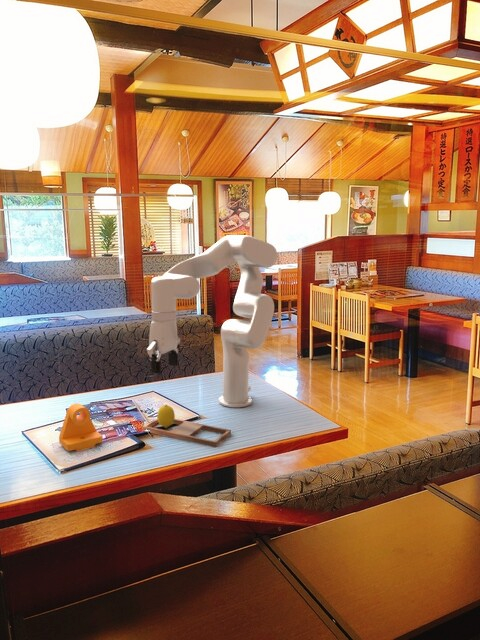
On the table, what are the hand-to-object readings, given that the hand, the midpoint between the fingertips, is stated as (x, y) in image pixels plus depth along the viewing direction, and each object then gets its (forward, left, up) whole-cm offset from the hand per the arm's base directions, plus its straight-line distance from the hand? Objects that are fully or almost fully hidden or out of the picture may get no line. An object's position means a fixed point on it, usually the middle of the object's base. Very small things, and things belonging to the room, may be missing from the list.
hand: (164, 368), depth 163 cm
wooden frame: (0, +8, -20) cm, 22 cm away
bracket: (+22, -16, -20) cm, 34 cm away
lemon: (0, 0, -20) cm, 20 cm away
